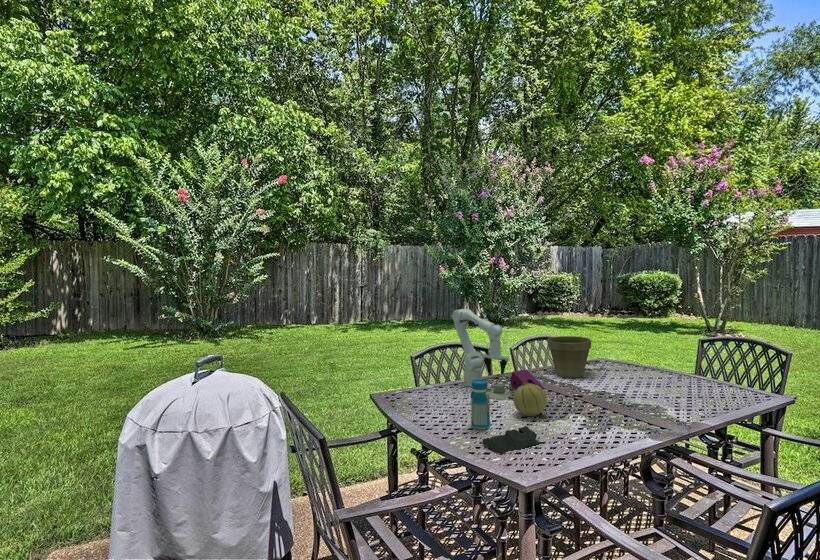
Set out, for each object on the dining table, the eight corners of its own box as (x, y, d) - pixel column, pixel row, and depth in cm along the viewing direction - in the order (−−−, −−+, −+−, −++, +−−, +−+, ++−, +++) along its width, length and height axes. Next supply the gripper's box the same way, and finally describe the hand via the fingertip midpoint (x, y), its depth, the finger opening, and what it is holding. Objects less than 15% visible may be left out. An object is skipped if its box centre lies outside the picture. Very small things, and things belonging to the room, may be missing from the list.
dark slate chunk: (476, 443, 197) (476, 432, 196) (520, 433, 206) (520, 421, 206) (500, 457, 183) (499, 445, 183) (546, 445, 192) (545, 433, 192)
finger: (493, 394, 255) (493, 385, 255) (496, 392, 258) (496, 383, 258) (501, 396, 252) (501, 386, 252) (504, 394, 255) (504, 384, 255)
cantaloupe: (550, 420, 218) (549, 387, 217) (516, 421, 219) (515, 387, 218) (542, 409, 233) (542, 378, 232) (511, 410, 234) (510, 379, 233)
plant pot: (545, 370, 307) (544, 335, 306) (586, 369, 304) (586, 335, 302) (551, 380, 282) (550, 343, 281) (596, 380, 279) (595, 342, 278)
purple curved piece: (542, 402, 263) (521, 381, 277) (547, 390, 259) (526, 369, 273) (528, 405, 258) (508, 383, 272) (533, 392, 255) (512, 371, 269)
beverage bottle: (477, 431, 208) (476, 384, 207) (467, 425, 216) (466, 380, 215) (494, 427, 212) (493, 382, 210) (483, 421, 219) (482, 377, 218)
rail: (471, 395, 260) (471, 383, 259) (479, 391, 267) (478, 379, 267) (503, 400, 249) (502, 388, 249) (510, 395, 257) (509, 383, 256)
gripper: (479, 348, 265) (480, 372, 266) (504, 350, 257) (505, 376, 258) (485, 345, 271) (486, 370, 272) (510, 348, 263) (510, 373, 264)
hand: (495, 372), depth 265 cm, fingers open, 7 cm apart
